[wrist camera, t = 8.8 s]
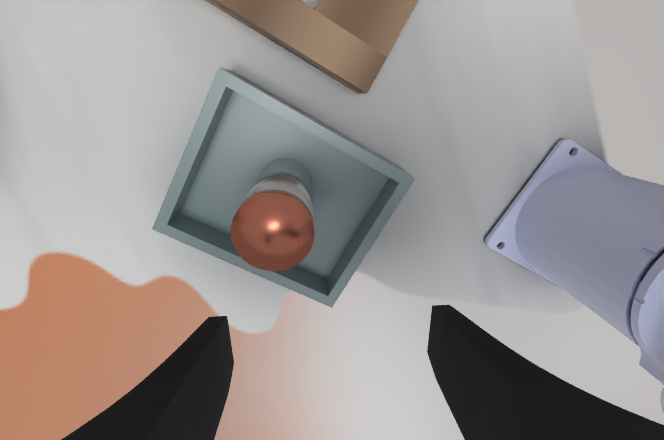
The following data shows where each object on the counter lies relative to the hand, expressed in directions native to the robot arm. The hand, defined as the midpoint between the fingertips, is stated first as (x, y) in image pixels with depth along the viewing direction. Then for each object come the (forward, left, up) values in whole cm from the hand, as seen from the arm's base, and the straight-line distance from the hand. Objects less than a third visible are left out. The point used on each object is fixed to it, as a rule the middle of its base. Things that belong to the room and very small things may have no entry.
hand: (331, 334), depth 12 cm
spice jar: (+3, -2, -10) cm, 11 cm away
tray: (+3, -1, -10) cm, 11 cm away
